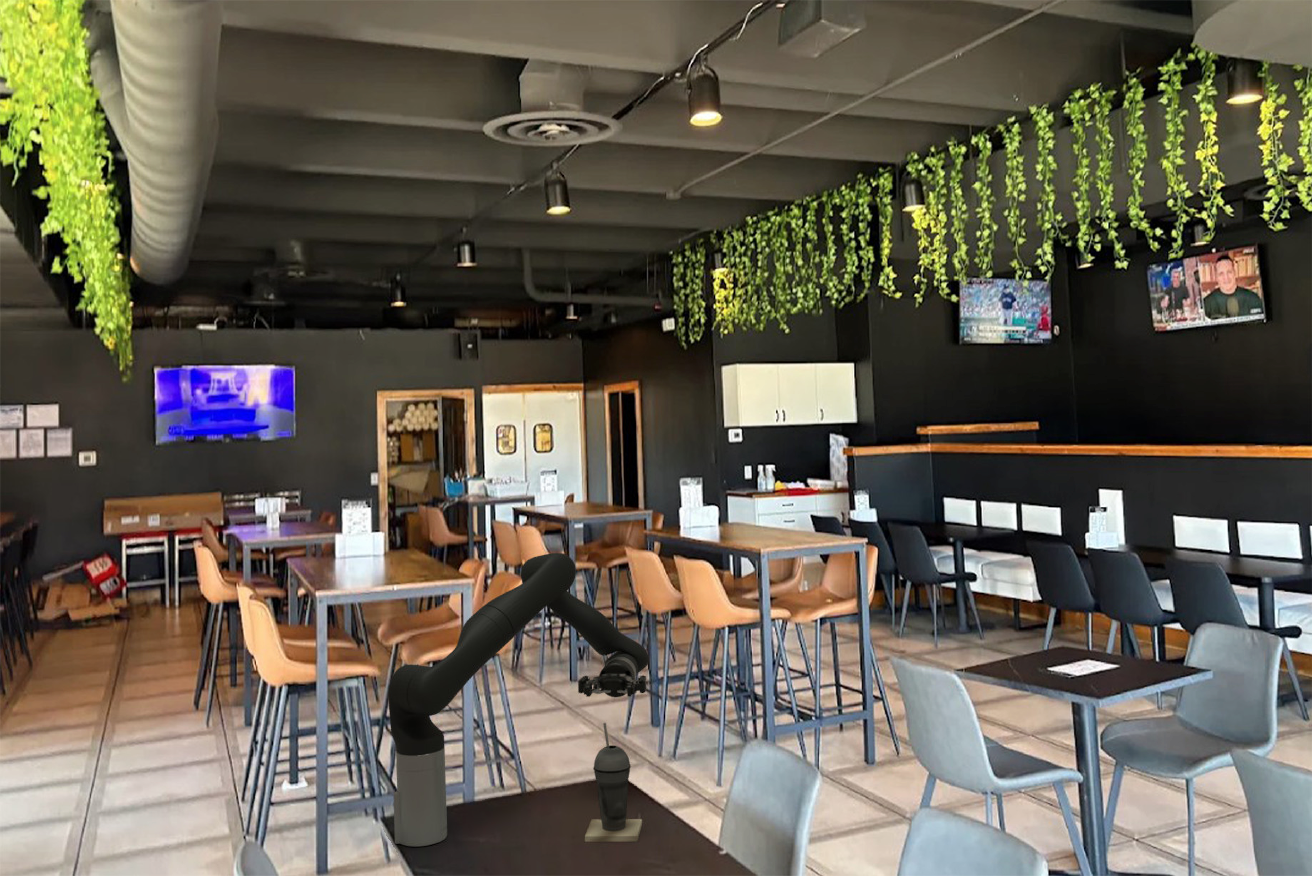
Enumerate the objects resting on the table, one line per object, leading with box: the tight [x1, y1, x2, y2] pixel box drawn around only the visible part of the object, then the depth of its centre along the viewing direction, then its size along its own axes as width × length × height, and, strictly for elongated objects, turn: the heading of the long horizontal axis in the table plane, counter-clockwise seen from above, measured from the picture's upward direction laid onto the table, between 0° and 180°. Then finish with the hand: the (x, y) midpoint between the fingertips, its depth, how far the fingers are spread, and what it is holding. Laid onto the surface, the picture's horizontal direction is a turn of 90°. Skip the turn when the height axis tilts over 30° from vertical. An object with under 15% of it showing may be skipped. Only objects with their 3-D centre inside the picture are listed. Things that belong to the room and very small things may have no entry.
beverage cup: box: [592, 722, 632, 831], centre depth 198 cm, size 7×7×20 cm
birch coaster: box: [584, 818, 643, 843], centre depth 197 cm, size 10×9×1 cm
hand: (608, 691), depth 210 cm, fingers open, 8 cm apart
